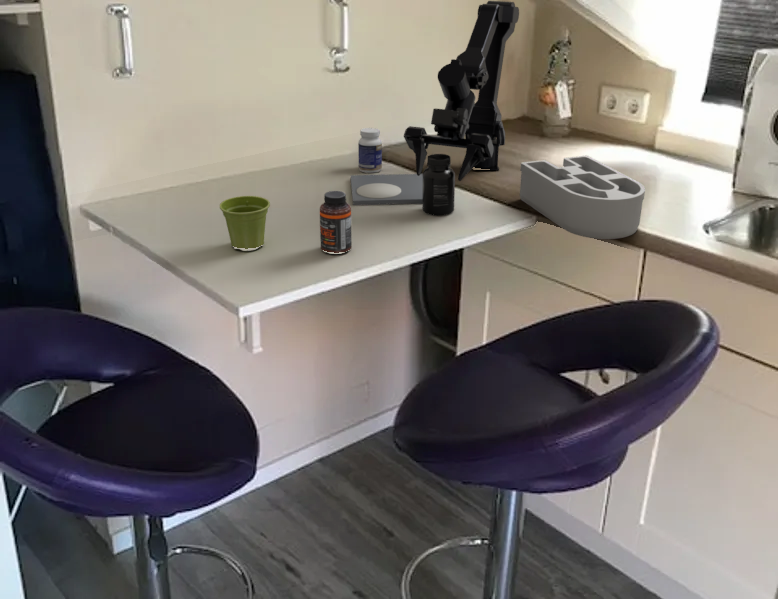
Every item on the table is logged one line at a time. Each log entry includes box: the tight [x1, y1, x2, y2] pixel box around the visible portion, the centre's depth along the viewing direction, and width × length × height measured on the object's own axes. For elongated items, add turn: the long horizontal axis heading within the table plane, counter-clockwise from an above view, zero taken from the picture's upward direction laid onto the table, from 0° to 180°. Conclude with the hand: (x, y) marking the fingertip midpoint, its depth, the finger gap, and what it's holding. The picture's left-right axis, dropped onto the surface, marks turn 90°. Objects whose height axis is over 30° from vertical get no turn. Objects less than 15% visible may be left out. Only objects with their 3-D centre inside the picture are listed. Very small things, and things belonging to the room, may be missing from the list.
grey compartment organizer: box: [519, 154, 646, 240], centre depth 180 cm, size 17×28×9 cm, turn 19°
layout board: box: [350, 173, 423, 206], centre depth 196 cm, size 22×18×1 cm
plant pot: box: [219, 195, 271, 249], centre depth 164 cm, size 9×9×9 cm
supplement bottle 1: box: [319, 190, 353, 253], centre depth 162 cm, size 6×6×11 cm
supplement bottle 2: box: [421, 153, 456, 217], centre depth 181 cm, size 7×7×12 cm
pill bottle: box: [357, 127, 383, 174], centre depth 208 cm, size 6×6×10 cm
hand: (438, 177), depth 180 cm, fingers open, 9 cm apart
